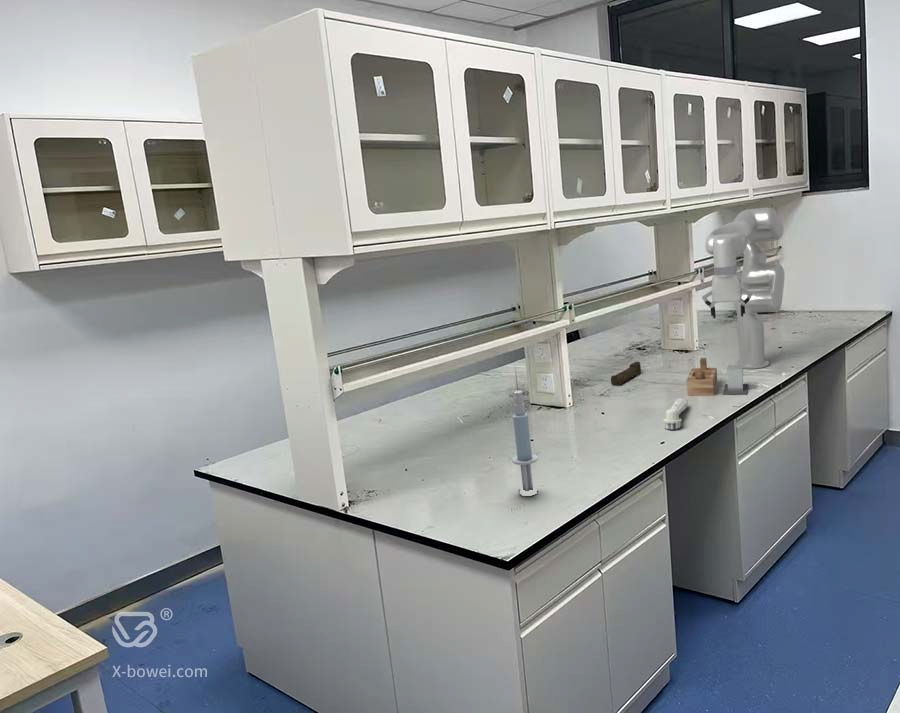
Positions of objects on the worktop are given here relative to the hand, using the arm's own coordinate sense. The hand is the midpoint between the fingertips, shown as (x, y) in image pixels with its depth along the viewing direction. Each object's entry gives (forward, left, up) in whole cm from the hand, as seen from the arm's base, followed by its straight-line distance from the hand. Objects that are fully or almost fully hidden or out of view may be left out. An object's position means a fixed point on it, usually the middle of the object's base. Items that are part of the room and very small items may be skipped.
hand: (728, 316), depth 263 cm
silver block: (+8, +2, -25) cm, 27 cm away
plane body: (+7, -10, -26) cm, 28 cm away
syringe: (+110, -45, -26) cm, 122 cm away
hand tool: (-10, -41, -26) cm, 49 cm away
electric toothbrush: (+44, -14, -26) cm, 53 cm away
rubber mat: (+8, +2, -26) cm, 27 cm away
